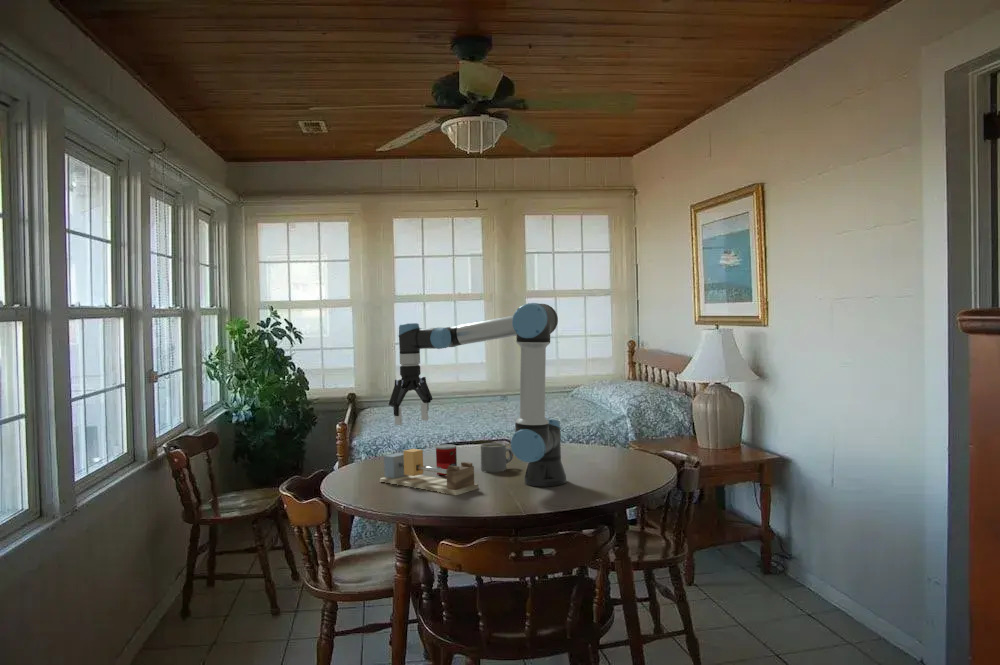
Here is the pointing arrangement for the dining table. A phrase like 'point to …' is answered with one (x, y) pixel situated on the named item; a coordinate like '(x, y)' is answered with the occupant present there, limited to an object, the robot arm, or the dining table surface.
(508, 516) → the dining table surface
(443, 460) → the canned food
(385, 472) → the block
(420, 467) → the rail rod
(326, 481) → the dining table surface
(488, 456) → the coffee mug
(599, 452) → the dining table surface
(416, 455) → the tan block with hole
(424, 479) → the rail board
